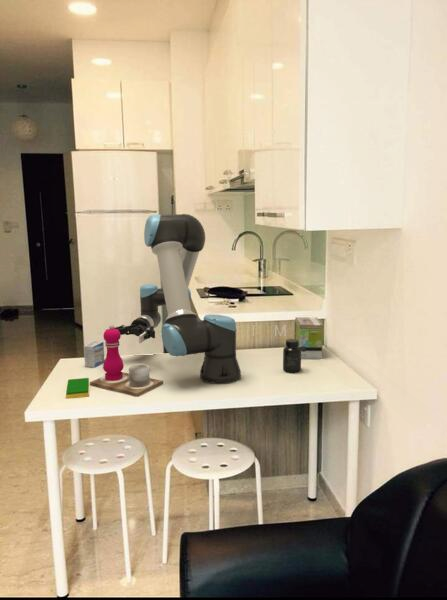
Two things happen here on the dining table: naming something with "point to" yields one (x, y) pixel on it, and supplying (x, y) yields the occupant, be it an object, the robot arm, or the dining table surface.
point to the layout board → (122, 386)
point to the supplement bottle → (292, 356)
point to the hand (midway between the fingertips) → (122, 338)
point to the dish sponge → (77, 388)
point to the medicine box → (94, 354)
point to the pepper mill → (112, 355)
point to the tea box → (309, 337)
